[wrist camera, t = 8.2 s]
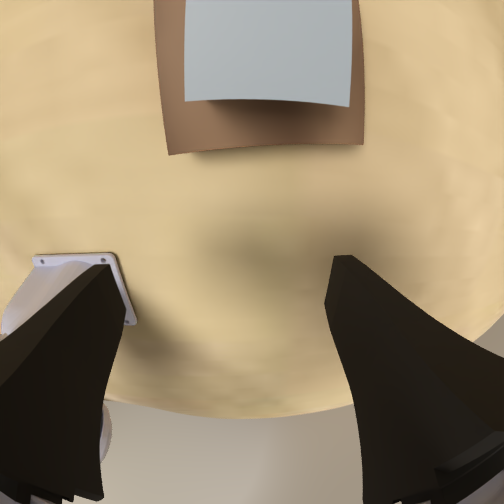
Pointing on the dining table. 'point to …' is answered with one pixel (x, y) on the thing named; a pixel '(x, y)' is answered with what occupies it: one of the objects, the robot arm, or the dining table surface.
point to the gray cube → (268, 50)
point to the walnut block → (248, 101)
